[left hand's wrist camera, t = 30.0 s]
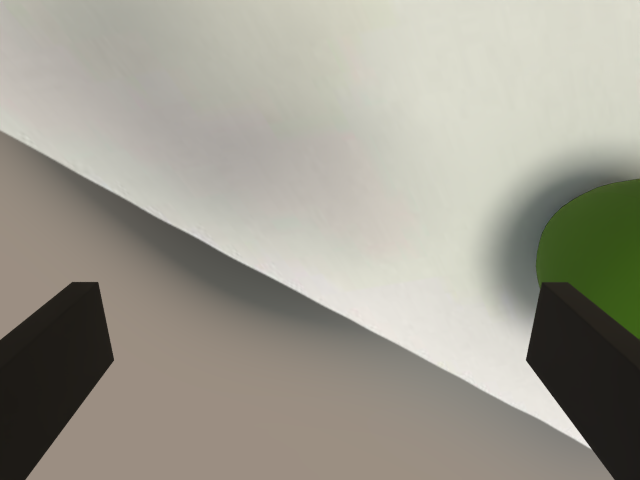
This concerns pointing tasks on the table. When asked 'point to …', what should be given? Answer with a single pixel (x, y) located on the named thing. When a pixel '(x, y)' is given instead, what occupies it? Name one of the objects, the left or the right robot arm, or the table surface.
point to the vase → (598, 250)
